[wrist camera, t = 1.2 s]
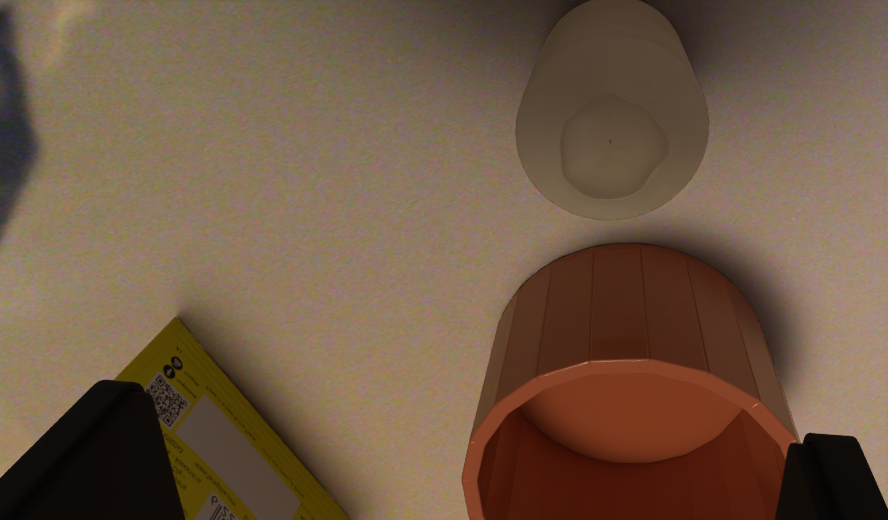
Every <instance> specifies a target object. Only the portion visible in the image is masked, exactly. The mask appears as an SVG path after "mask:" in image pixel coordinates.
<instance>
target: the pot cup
mask: <svg viewBox="0 0 888 520" xmlns="http://www.w3.org/2000/svg"><path fill="white" fill-rule="evenodd" d="M790 443H801V441H800V438H799V435H798V432H797V429H796V426H795V423H794V421H793V418H792V415H791V412H790V409H789V406H788V403H787V400H786V397H785V394H784V391H783V388H782V385H781V382H780V379H779V376H778V373H777V370H776V367H775V364H774V361H773V358H772V355H771V352H770V349H769V346H768V344H767V341H766V339H765V336H764V333H763V331H762V328H761V326H760V323H759V320H758V318H757V316H756V313H755V312H754V310H753V309H752V307H751V305H750V304H749V302H748V301H747V300H746V298H745V297H744V296H743V294H742V293H741V292H740V291H739V290H738V289H737V288H736V287H735V286H734V285H733V284H732V283H731V282H730V281H729V280H728V279H727V278H725V277H724V276H723V275H722V274H720V273H719V272H718V271H716V270H715V269H713V268H712V267H710V266H708V265H706V264H705V263H703V262H701V261H699V260H697V259H695V258H693V257H690V256H688V255H685V254H683V253H680V252H677V251H673V250H670V249H666V248H663V247H656V246H650V245H644V244H614V245H604V246H598V247H593V248H588V249H585V250H582V251H578V252H575V253H572V254H569V255H567V256H565V257H563V258H561V259H559V260H556V261H554V262H552V263H551V264H549V265H548V266H546V267H544V268H543V269H541V270H540V271H538V272H537V273H536V274H535V275H534V276H532V277H531V278H530V279H529V280H527V281H526V282H525V283H524V285H523V286H522V287H521V288H520V289H519V290H518V291H517V292H516V293H515V295H514V296H513V298H512V299H511V301H510V302H509V304H508V305H507V307H506V309H505V311H504V313H503V315H502V317H501V319H500V321H499V323H498V327H497V331H496V335H495V339H494V343H493V347H492V351H491V355H490V359H489V363H488V367H487V371H486V376H485V380H484V384H483V388H482V392H481V396H480V400H479V404H478V408H477V412H476V416H475V420H474V424H473V428H472V432H471V436H470V440H469V445H468V449H467V454H466V459H465V463H464V468H463V473H462V477H461V478H462V485H463V490H464V496H465V501H466V506H467V511H468V516H469V518H470V520H775V515H776V510H777V505H778V499H779V494H780V488H781V483H782V478H783V472H784V467H785V461H786V456H787V451H788V447H789V445H790Z"/></svg>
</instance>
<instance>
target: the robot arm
mask: <svg viewBox="0 0 888 520" xmlns="http://www.w3.org/2000/svg"><path fill="white" fill-rule="evenodd" d="M0 520H185V515H184V511H183V508H182V504H181V500H180V496H179V493H178V489H177V485H176V482H175V478H174V474H173V470H172V467H171V463H170V459H169V455H168V452H167V448H166V444H165V441H164V437H163V433H162V429H161V426H160V422H159V418H158V414H157V411H156V407H155V403H154V400H153V398H152V396H151V395H150V394H149V393H147V392H145V390H144V388H143V387H142V386H141V385H140V383H136V382H128V381H115V380H101V381H99V382H97V383H96V384H94V385H93V386H92V387H91V388H90V389H89V390H88V391H87V392H86V393H85V394H84V395H83V396H82V397H81V398H80V399H79V400H78V401H77V402H76V403H75V404H74V405H73V406H72V407H71V408H70V409H69V410H68V411H67V412H66V413H65V414H64V415H63V416H62V417H61V418H60V419H59V420H58V421H57V422H56V423H55V424H54V425H53V426H52V427H51V428H50V429H49V430H48V431H47V432H46V433H45V434H44V435H43V436H42V437H41V438H40V439H39V440H38V441H37V442H36V443H35V444H34V445H33V446H32V447H31V448H30V449H29V450H28V451H27V452H26V453H25V454H24V455H23V456H22V457H21V458H20V459H19V460H18V461H17V462H16V463H15V464H14V465H13V466H12V467H11V468H10V469H9V470H8V471H7V472H6V473H5V474H4V475H3V476H2V477H1V478H0ZM775 520H888V508H887V506H886V504H885V501H884V499H883V497H882V494H881V492H880V490H879V488H878V485H877V483H876V481H875V479H874V476H873V474H872V472H871V469H870V467H869V465H868V463H867V460H866V458H865V456H864V453H863V451H862V449H861V447H860V444H859V442H858V441H857V439H856V438H855V437H853V436H842V435H829V434H816V433H808V434H806V436H805V438H804V440H803V444H802V443H790V445H789V447H788V451H787V456H786V461H785V467H784V472H783V478H782V483H781V488H780V494H779V499H778V505H777V510H776V515H775Z"/></svg>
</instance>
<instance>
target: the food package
mask: <svg viewBox="0 0 888 520" xmlns="http://www.w3.org/2000/svg"><path fill="white" fill-rule="evenodd" d="M114 380H115V381H128V382H136V383H140V385H141V386H142V387H143V388H144V390H145V392H147V393H149V394H150V395H151V396H152V398H153V400H154V403H155V407H156V411H157V414H158V418H159V422H160V426H161V429H162V433H163V437H164V441H165V444H166V448H167V452H168V455H169V459H170V463H171V467H172V470H173V474H174V478H175V482H176V485H177V489H178V493H179V496H180V500H181V504H182V508H183V511H184V515H185V520H350V519H349V517H348V516H347V515H346V514H345V513H344V511H343V510H342V509H341V508H340V507H339V505H338V504H337V503H336V502H335V501H334V500H333V499H332V498H331V497H330V496H329V495H328V493H327V492H326V491H325V490H324V489H323V488H322V486H321V485H320V484H319V483H318V482H317V481H316V479H315V478H314V477H313V476H312V475H311V474H310V472H309V471H308V470H307V469H306V468H305V467H304V465H303V464H302V463H301V462H300V461H299V460H298V459H297V457H296V456H295V455H294V454H293V453H292V452H291V450H290V449H289V448H288V447H287V446H286V445H285V444H284V442H283V441H282V440H281V439H280V438H279V437H278V435H277V434H276V433H275V432H274V431H273V430H272V428H271V427H270V426H269V425H268V424H267V423H266V421H265V420H264V419H263V418H262V417H261V416H260V414H259V413H258V412H257V411H256V410H255V409H254V407H253V406H252V405H251V404H250V403H249V402H248V400H247V399H246V398H245V397H244V396H243V395H242V394H241V392H240V391H239V390H238V389H237V388H236V387H235V385H234V384H233V383H232V382H231V381H230V380H229V378H228V377H227V376H226V375H225V374H224V373H223V371H222V370H221V369H220V368H219V367H218V366H217V364H216V363H215V362H214V361H213V360H212V359H211V358H210V356H209V355H208V354H207V353H206V352H205V351H204V349H203V348H202V347H201V346H200V345H199V343H198V342H197V341H196V339H195V338H194V337H193V336H192V335H191V334H190V332H189V331H188V330H187V329H186V328H185V327H184V325H183V324H182V323H181V322H180V321H179V320H178V319H177V318H176V317H175V318H174V319H173V320H171V322H170V323H169V324H168V325H167V326H166V327H165V328H164V329H163V330H162V331H161V332H160V333H159V334H158V335H157V336H156V337H155V338H154V339H153V340H152V341H151V342H150V343H149V344H148V345H147V346H146V347H145V348H144V349H143V350H142V351H141V352H140V353H139V354H138V356H137V357H136V358H135V359H134V360H133V361H132V362H131V363H130V364H129V365H128V366H127V367H126V368H125V369H124V370H123V371H122V372H121V373H120V374H119V375H118V376H117V377H116V378H115V379H114Z"/></svg>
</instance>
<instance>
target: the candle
mask: <svg viewBox="0 0 888 520" xmlns="http://www.w3.org/2000/svg"><path fill="white" fill-rule="evenodd" d="M708 135H709V116H708V108H707V104H706V101H705V97H704V94H703V92H702V90H701V87H700V85H699V83H698V80H697V78H696V76H695V73H694V71H693V69H692V66H691V64H690V62H689V59H688V57H687V55H686V52H685V50H684V48H683V45H682V43H681V41H680V38H679V36H678V34H677V33H676V31H675V29H674V28H673V26H672V25H671V23H670V22H669V21H668V20H667V19H666V17H665V16H663V15H662V14H661V13H660V12H659V11H658V10H656V9H655V8H653V7H652V6H650V5H648V4H646V3H644V2H642V1H639V0H591V1H588V2H585V3H583V4H581V5H579V6H577V7H575V8H574V9H572V10H571V11H570V12H568V13H567V14H566V15H565V16H563V17H562V18H561V19H560V20H559V21H558V22H557V24H556V25H555V26H554V27H553V29H552V30H551V32H550V33H549V35H548V36H547V38H546V40H545V42H544V44H543V47H542V49H541V51H540V54H539V56H538V59H537V61H536V64H535V67H534V69H533V72H532V74H531V77H530V79H529V82H528V84H527V87H526V90H525V92H524V95H523V97H522V100H521V103H520V106H519V109H518V114H517V120H516V145H517V149H518V154H519V157H520V160H521V163H522V166H523V168H524V170H525V172H526V174H527V176H528V177H529V179H530V180H531V182H532V183H533V184H534V186H535V187H536V188H537V189H538V190H539V191H540V192H541V193H542V195H544V196H545V197H546V198H547V199H548V200H550V201H551V202H552V203H554V204H555V205H557V206H558V207H560V208H562V209H564V210H566V211H568V212H570V213H573V214H576V215H578V216H581V217H586V218H590V219H597V220H621V219H627V218H632V217H636V216H640V215H643V214H645V213H648V212H650V211H653V210H655V209H656V208H658V207H660V206H662V205H664V204H665V203H667V202H668V201H669V200H671V199H672V198H673V197H675V196H676V195H677V194H678V193H679V192H680V191H681V190H682V189H683V188H684V187H685V186H686V185H687V183H688V182H689V181H690V180H691V179H692V177H693V175H694V174H695V172H696V171H697V169H698V167H699V165H700V163H701V161H702V159H703V156H704V153H705V150H706V147H707V141H708Z"/></svg>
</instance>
